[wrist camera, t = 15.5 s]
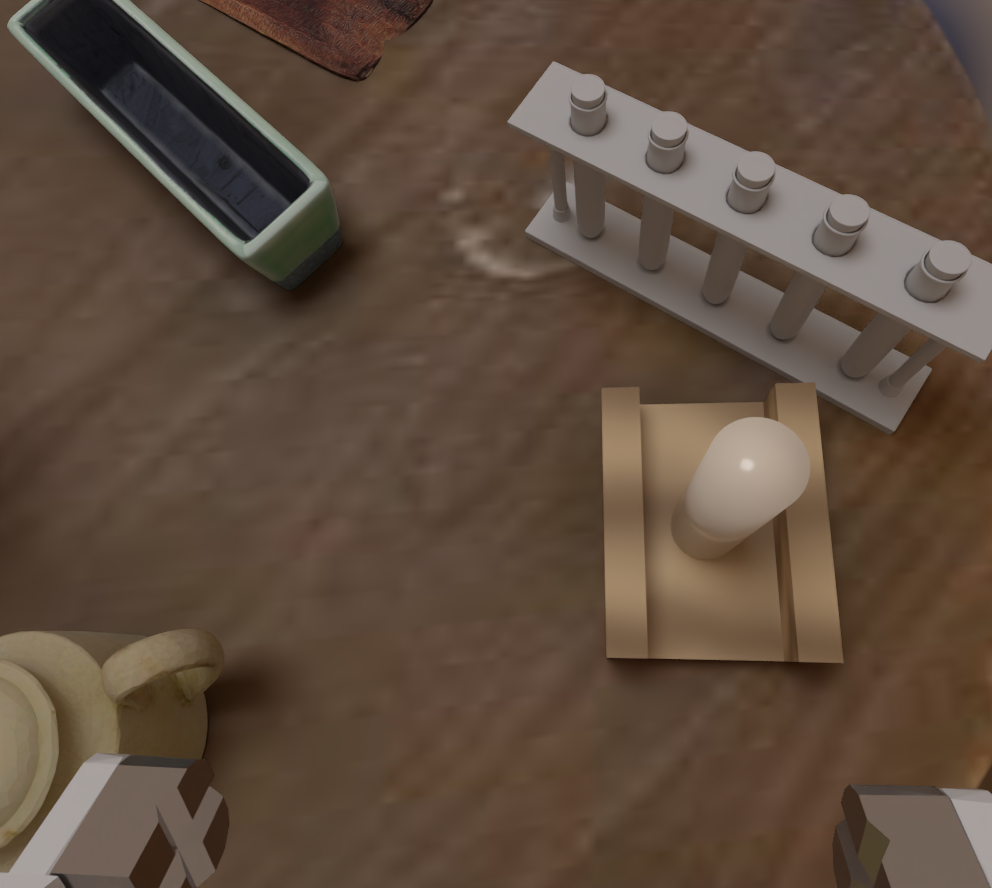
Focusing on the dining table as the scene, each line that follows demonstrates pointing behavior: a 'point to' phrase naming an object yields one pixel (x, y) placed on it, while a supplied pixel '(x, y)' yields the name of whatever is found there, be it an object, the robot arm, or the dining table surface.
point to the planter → (189, 132)
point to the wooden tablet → (329, 28)
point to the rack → (725, 580)
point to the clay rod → (740, 486)
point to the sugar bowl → (92, 711)
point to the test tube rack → (766, 229)
